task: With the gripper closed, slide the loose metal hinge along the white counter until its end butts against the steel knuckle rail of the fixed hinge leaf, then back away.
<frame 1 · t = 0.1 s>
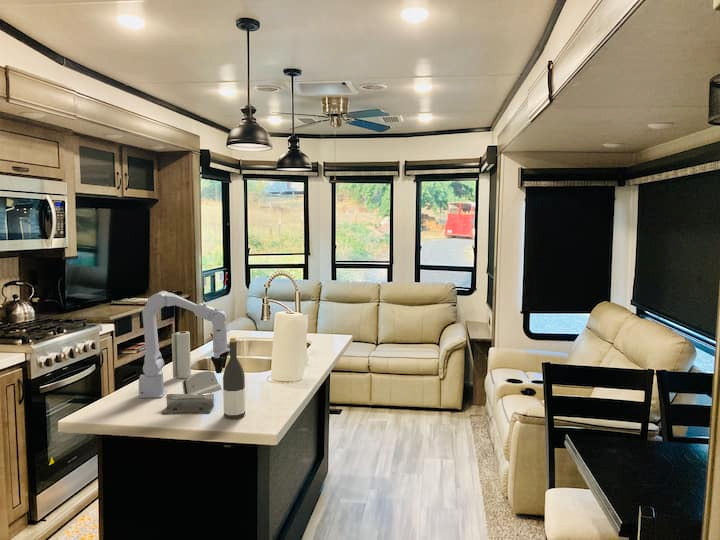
hand: (220, 370, 233), 10 cm above the worktop, tool pointing down, fingers open, 7 cm apart
hinge: (201, 393, 235), on the worktop
fixed leaf: (190, 407, 217), on the worktop
paper towel roll: (183, 377, 258), on the worktop
wine bottle: (234, 416, 208), on the worktop
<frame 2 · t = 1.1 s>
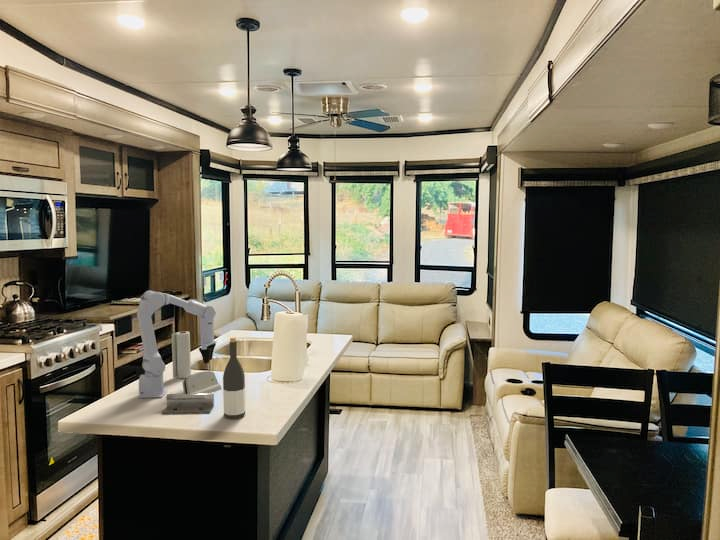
hand: (208, 361, 248), 10 cm above the worktop, tool pointing down, fingers open, 5 cm apart
nothing on the worktop moved.
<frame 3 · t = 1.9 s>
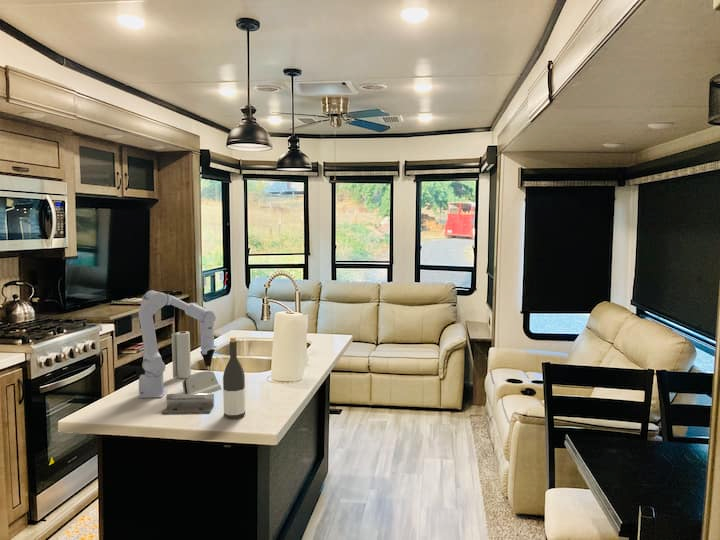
hand: (208, 366, 248), 8 cm above the worktop, tool pointing down, fingers closed
nothing on the worktop moved.
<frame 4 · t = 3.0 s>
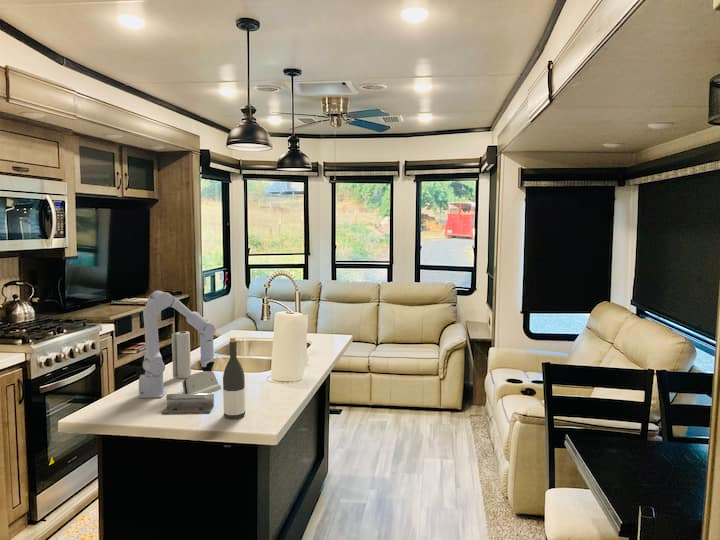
hand: (207, 378, 248), 2 cm above the worktop, tool pointing down, fingers closed
nothing on the worktop moved.
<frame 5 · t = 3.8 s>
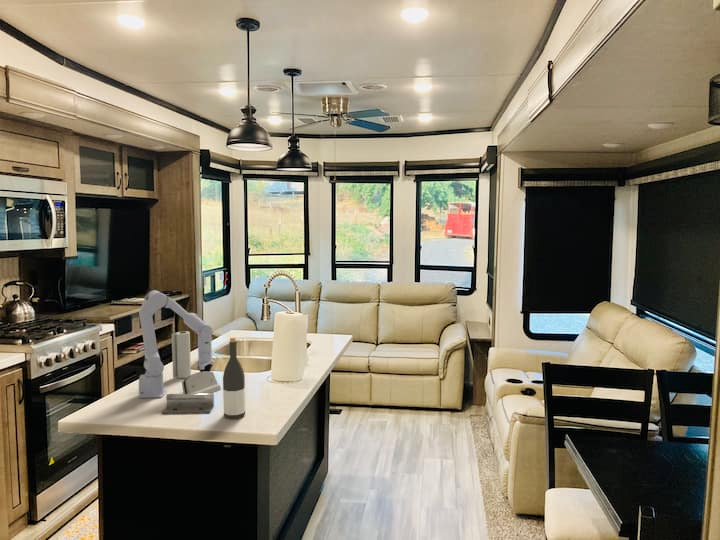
hand: (205, 381, 244), 2 cm above the worktop, tool pointing down, fingers closed
hinge: (200, 393, 234), on the worktop, touching gripper
everything else where it was.
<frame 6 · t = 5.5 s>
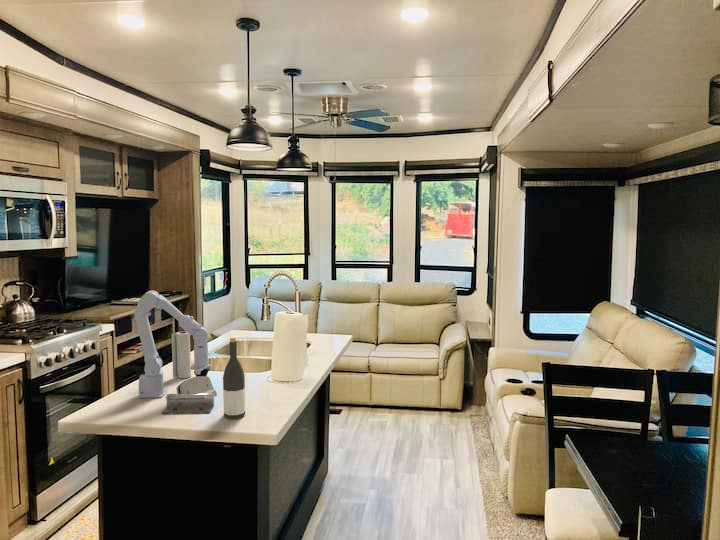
hand: (202, 386, 236), 2 cm above the worktop, tool pointing down, fingers closed
hinge: (196, 399, 227), on the worktop, touching gripper
everything else where it was.
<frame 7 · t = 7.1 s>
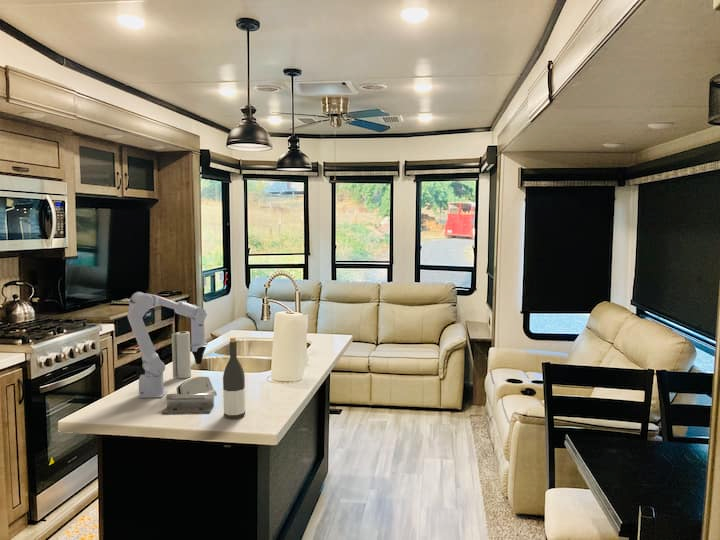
hand: (198, 363, 245), 10 cm above the worktop, tool pointing down, fingers closed
hinge: (196, 399, 227), on the worktop
everything else where it was.
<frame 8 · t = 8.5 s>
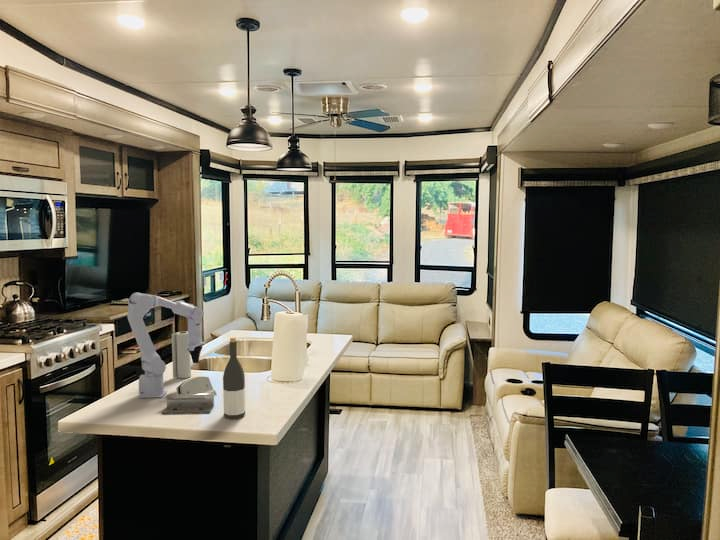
hand: (195, 362, 246), 10 cm above the worktop, tool pointing down, fingers closed
nothing on the worktop moved.
at the end: hinge inside the target area (0.5 cm from its centre), on the worktop; hinge tilted 1° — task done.
